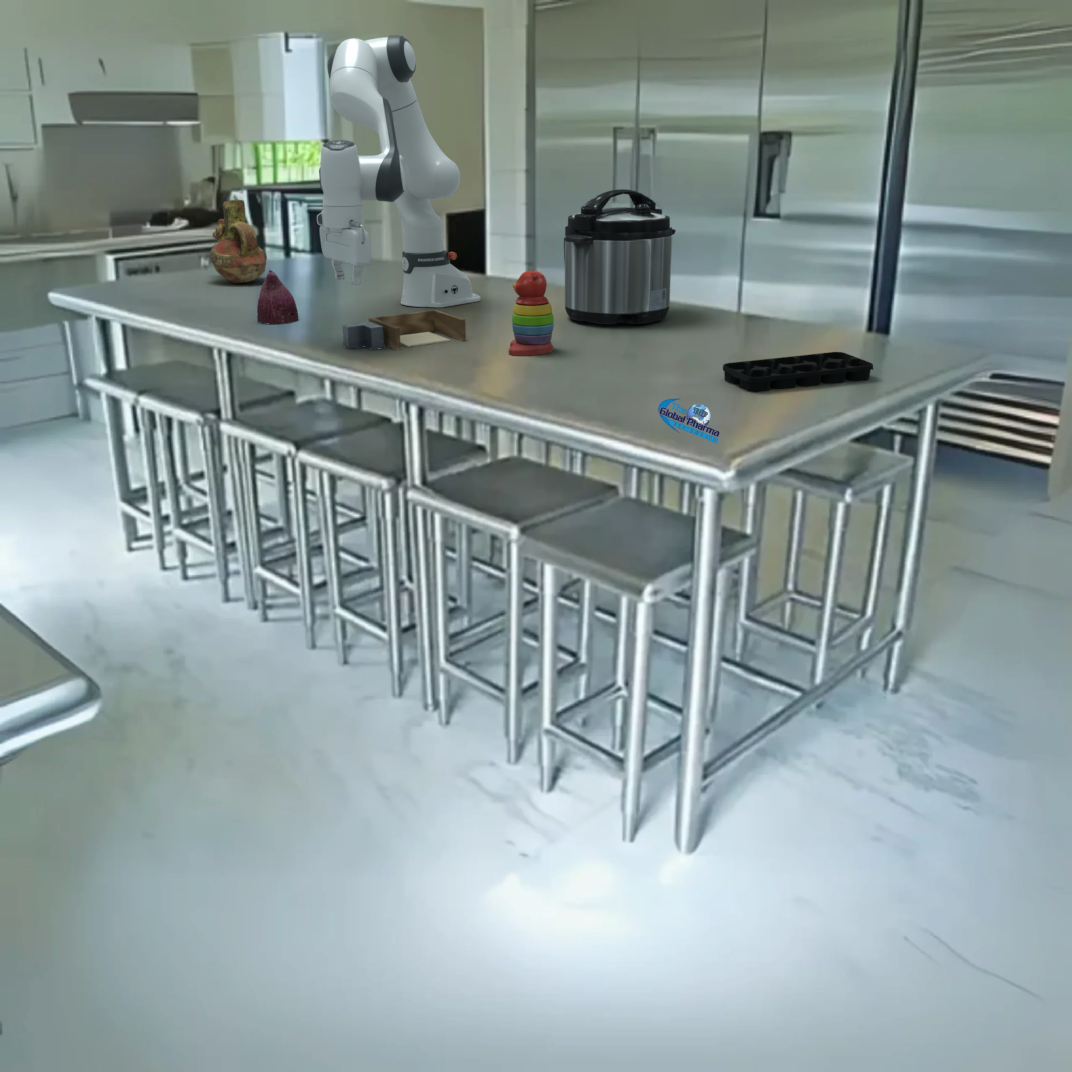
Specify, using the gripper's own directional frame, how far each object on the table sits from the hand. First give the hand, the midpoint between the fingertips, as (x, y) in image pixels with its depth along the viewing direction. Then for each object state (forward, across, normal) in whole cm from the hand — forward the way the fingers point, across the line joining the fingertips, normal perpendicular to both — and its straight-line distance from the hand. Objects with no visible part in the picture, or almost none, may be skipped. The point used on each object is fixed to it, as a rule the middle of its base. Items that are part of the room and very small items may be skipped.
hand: (348, 282), depth 243 cm
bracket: (+15, -2, -2) cm, 15 cm away
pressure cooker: (+14, -7, -70) cm, 72 cm away
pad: (+15, -2, -16) cm, 22 cm away
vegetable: (+15, +41, +3) cm, 44 cm away
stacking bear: (+15, -27, -32) cm, 44 cm away
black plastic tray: (+15, -80, -62) cm, 102 cm away
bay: (+15, -2, -16) cm, 22 cm away
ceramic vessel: (+14, +109, -8) cm, 110 cm away
